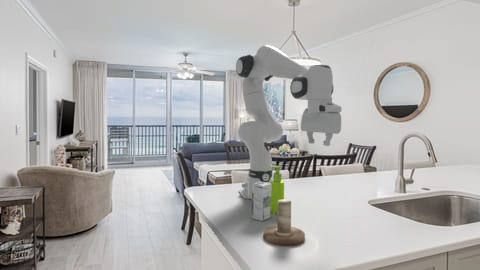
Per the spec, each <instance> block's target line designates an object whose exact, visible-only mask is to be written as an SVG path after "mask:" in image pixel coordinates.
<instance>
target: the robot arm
mask: <svg viewBox="0 0 480 270" xmlns="http://www.w3.org/2000/svg"><path fill="white" fill-rule="evenodd" d="M331 67H332V66H329V65H327V64H326V65H325V64H321V63H320V64H318V63H313V64H311V65H309V67H308V68H306V67H305V66H303V65H302V64H299V63H298V62H296V60H293V59H292V58H290V57H289V56H288V55H287V54H285V53H283V52H282V51H281V50H279V49H278V48H276V47H274V46H271V45H268V44H267V45H266V44H264V45H262V46H260V47H259V48H258V49H257V52H256V54H255V55H251V54H247V55H243V56H240V57H239V58H238V59H237V61H236V62H235V69H236V70H235V71H236V74H237V75H238V77H240V78H243V80H242V95H243V96H242V97H243V102H244V106H245V111H246V113H247V114H248V115H250V116H251V117H252V118H253V119H254V120H250V121H246V122H242V123H241V124H240V125H239V128H238V132H237V134H238V137H239V139H240V141H241V142H243V143H244V144H245V146H246V149H247V151H248V153H249V169H248V174H247V175H248V176H247V177H246V178H245V179H244V180H243V183H241V188H240V189H238V193H239V194H240V195H241V196H242V198H243V199H247V200H249V199H250V200H252V184H254V183H258V182H267V183H270V184H271V181H273V180H274V177H273V175H274V172H273V168H272V169H270V168H269V167H270V166H273V165H272V161H273V160H272V157H273V156H272V154H271V152H270V151H269V150H267V149H266V146H265V143H272V142H276V141H278V140H280V139H281V138H282V136H283V133H284V132H283V131H284V129H283V127H282V124H281V123H280V122H278V121H277V120H276V119H275V118H274V116H273V115H272V113H271V112H270V109H269V107H268V104H267V103H268V102H267V99H266V94H265V89H264V85H263V83H264V81H265V82H269V81H270V79H271V78H273V77H274V78H278V79H279V78H280V79H286V80H287V79H289V80H291V82H290V86H289V87H290V88H289V89H290V94H291V96H292V97H293V99H297V100H301V101H307V108H305V109H304V110H303V112H302V116H301V118H300V119H301V121H300V130H301V131H302V132H306V136H307V139H308V140H307V141H308V144H315V138H314V136H313V135H314V133H321V134H325V139H324V141H323V144H322V145H323V146H325V147H329V146H331V141H332V138H333V135H336V134H337V135H338V134H340V132H341V131H342V115H341V112H342V106H340V105H338V104H336V103H334V102H333V97H332V95H333V93H334V83H333V82H334V81H333V79H334V78H333V77H334V76H333V71H332V68H331Z"/></svg>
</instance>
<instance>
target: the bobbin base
mask: <svg viewBox="0 0 480 270" xmlns="http://www.w3.org/2000/svg"><path fill="white" fill-rule="evenodd" d="M276 228H277V225H274V226H273V225H272V226H269V227H267V228H265V229H264V230H263V239H264V240H265V242H266V241H267V243H269V244H272V245H275V246H281V247H293V246H298V245H301V244H303V243H304V241H305V239H306V238H305V237H306V236H305V235H306V234H305V231H303V230H302V229H300V228H298V227H295V226H291V229H292V230H293V235H292V236H287V237H284V236H279V235H276V234H275V229H276Z"/></svg>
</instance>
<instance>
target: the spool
mask: <svg viewBox="0 0 480 270" xmlns="http://www.w3.org/2000/svg"><path fill="white" fill-rule="evenodd" d="M276 214H277V215H276V216H277V217H276V218H277V219H276V220H277V223H276V226H277V228H276V229H275V234H276V235H279V236H284V237H287V236H292V235H293V230H292V229H291V227H292V201H291V200H290V199H285V198H284V199H282V200H278V211H277V213H276Z"/></svg>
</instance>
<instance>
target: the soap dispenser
mask: <svg viewBox="0 0 480 270" xmlns="http://www.w3.org/2000/svg"><path fill="white" fill-rule="evenodd" d="M269 168H270V169H272V170H273V169H275V172H273V179H274V180H273V181H271V213H273V214H277V211H278V200H282V199H284V200H285V181H284V180H282V173H281V172H280V170H281V169H280V168H282V166H281V165H272V166H270V167H269Z"/></svg>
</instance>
